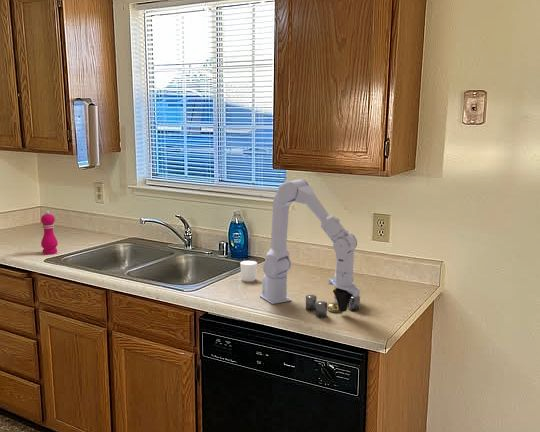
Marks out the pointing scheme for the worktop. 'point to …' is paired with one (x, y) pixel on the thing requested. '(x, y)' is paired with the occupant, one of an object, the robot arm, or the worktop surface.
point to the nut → (332, 307)
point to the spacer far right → (321, 309)
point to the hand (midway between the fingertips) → (342, 310)
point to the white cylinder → (248, 270)
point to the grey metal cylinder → (354, 303)
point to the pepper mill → (48, 234)
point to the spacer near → (311, 302)
